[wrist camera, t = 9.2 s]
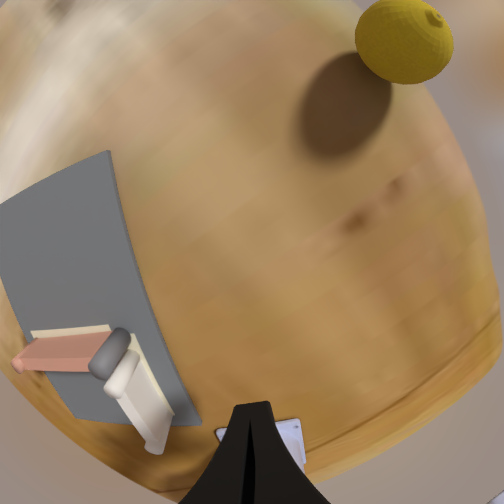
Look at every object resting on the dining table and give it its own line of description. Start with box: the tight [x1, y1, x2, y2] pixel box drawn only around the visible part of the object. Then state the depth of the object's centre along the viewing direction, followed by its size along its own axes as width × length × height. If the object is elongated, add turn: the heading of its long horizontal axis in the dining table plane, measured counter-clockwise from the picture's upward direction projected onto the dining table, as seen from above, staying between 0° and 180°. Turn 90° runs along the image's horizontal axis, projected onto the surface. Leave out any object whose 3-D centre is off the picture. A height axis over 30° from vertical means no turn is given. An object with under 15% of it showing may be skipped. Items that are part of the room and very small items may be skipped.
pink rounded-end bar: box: [11, 327, 131, 381], centre depth 16 cm, size 12×2×4 cm, turn 103°
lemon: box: [355, 0, 454, 84], centre depth 10 cm, size 6×6×8 cm
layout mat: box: [0, 150, 202, 455], centre depth 17 cm, size 24×16×5 cm, turn 12°
